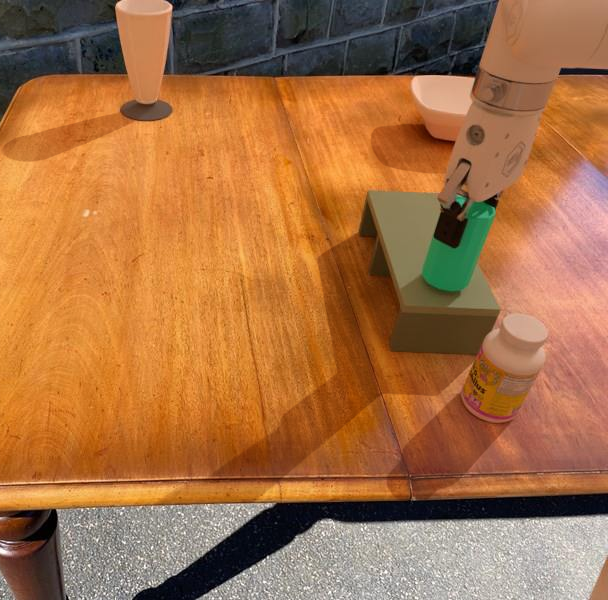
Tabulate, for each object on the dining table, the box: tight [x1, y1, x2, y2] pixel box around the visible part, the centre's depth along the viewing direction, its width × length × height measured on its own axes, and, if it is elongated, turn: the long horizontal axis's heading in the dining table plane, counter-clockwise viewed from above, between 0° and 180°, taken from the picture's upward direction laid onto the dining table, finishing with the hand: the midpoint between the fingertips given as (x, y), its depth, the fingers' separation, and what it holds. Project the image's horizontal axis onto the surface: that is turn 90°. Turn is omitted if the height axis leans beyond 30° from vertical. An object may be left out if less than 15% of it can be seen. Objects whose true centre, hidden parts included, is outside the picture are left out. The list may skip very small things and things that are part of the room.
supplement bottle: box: [460, 312, 549, 424], centre depth 73 cm, size 7×7×13 cm
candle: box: [422, 194, 497, 291], centre depth 78 cm, size 6×6×12 cm
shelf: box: [357, 189, 502, 356], centre depth 92 cm, size 28×12×8 cm, turn 178°
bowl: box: [409, 74, 475, 142], centre depth 133 cm, size 21×21×9 cm
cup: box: [114, 0, 173, 122], centre depth 132 cm, size 12×12×22 cm
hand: (461, 231), depth 77 cm, fingers closed on candle, 5 cm apart
